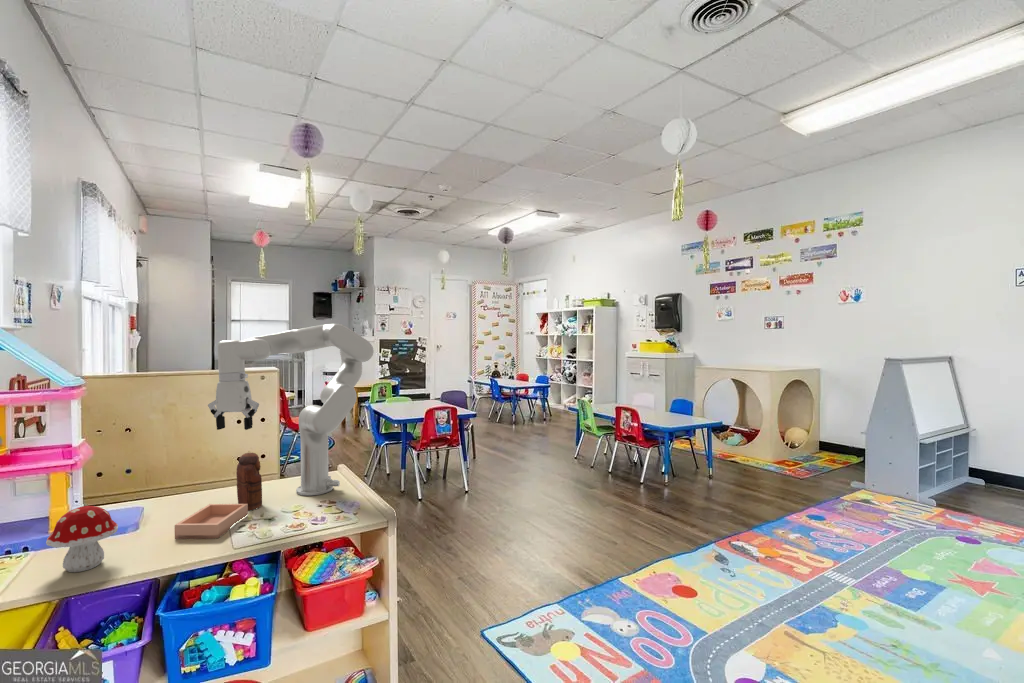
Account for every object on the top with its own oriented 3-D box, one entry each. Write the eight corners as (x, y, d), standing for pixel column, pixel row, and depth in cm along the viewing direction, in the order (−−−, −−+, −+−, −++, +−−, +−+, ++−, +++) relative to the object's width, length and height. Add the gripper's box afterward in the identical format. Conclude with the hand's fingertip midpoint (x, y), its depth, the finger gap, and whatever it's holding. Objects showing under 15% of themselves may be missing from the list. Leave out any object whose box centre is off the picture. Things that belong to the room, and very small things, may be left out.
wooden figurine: (267, 507, 165) (266, 454, 165) (246, 512, 160) (246, 457, 160) (253, 499, 173) (252, 448, 172) (233, 504, 168) (232, 451, 168)
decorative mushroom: (60, 559, 127) (59, 502, 127) (126, 550, 133) (126, 494, 132) (34, 585, 114) (33, 521, 114) (109, 573, 120) (108, 512, 120)
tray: (247, 516, 157) (247, 503, 157) (217, 538, 140) (217, 524, 140) (209, 516, 157) (209, 503, 157) (174, 539, 140) (174, 525, 140)
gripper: (263, 375, 165) (266, 426, 166) (215, 376, 167) (218, 426, 168) (249, 378, 158) (252, 431, 159) (199, 379, 160) (202, 431, 160)
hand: (234, 428), depth 163 cm, fingers open, 9 cm apart
